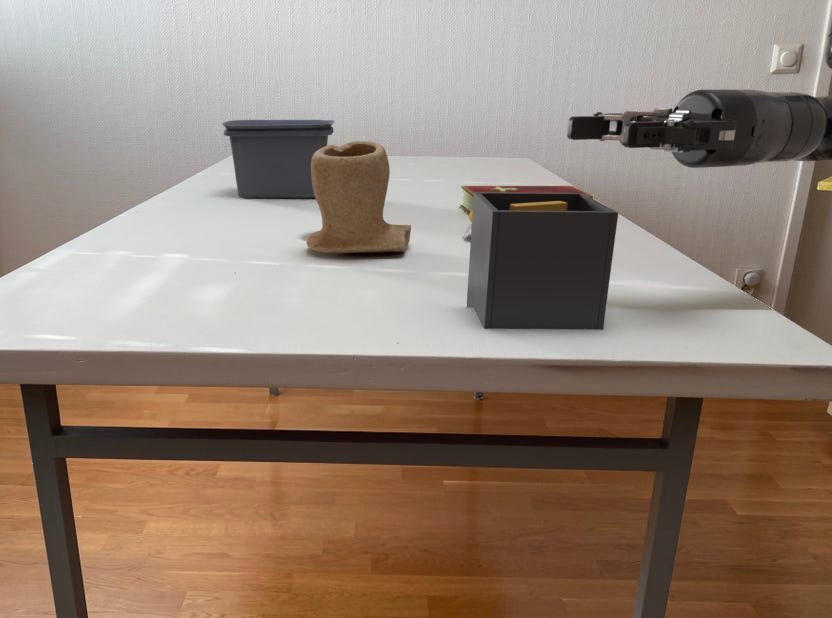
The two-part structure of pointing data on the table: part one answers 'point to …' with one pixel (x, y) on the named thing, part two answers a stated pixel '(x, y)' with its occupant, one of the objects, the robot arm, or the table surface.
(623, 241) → the table surface
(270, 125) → the storage bin
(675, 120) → the robot arm
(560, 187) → the hardcover book
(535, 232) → the trash bin
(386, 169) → the stone cup
